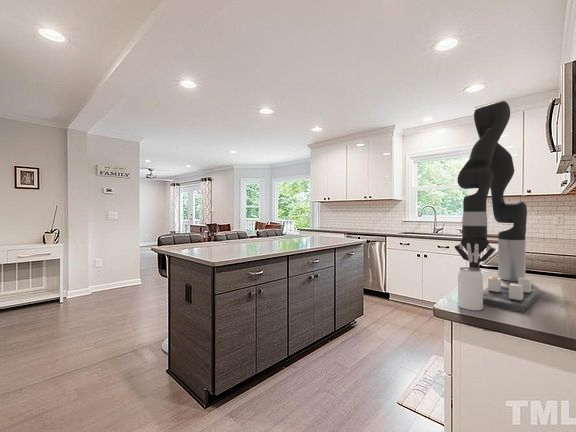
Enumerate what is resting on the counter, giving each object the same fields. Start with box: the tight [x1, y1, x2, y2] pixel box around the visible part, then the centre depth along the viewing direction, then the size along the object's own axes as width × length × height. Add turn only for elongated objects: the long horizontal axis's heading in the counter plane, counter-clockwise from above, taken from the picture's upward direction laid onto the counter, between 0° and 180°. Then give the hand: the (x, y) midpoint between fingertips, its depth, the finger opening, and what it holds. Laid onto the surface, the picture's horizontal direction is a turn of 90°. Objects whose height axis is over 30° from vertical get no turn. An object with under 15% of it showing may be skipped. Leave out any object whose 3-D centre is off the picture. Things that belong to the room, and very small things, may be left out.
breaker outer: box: [508, 282, 523, 300], centre depth 90 cm, size 3×3×4 cm
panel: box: [483, 284, 540, 314], centre depth 97 cm, size 24×13×2 cm, turn 131°
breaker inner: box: [517, 277, 532, 293], centre depth 98 cm, size 3×3×4 cm
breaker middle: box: [487, 276, 502, 292], centre depth 100 cm, size 3×3×4 cm
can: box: [457, 266, 484, 312], centre depth 89 cm, size 6×6×12 cm
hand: (474, 272), depth 104 cm, fingers closed
